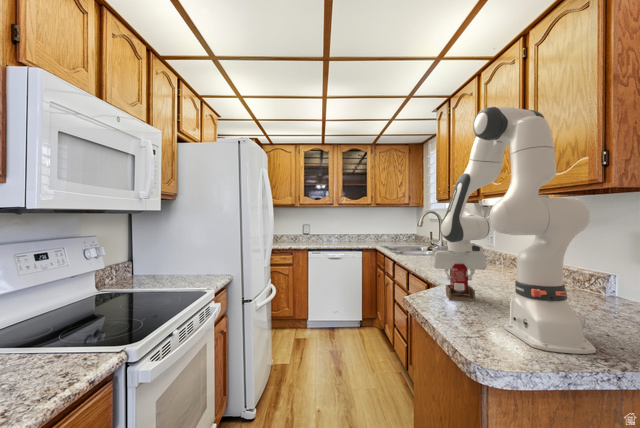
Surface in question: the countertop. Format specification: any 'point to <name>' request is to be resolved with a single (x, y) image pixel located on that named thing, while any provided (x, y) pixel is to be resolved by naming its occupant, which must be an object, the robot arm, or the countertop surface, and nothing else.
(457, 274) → the soda can
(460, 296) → the can rest
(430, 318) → the countertop surface
